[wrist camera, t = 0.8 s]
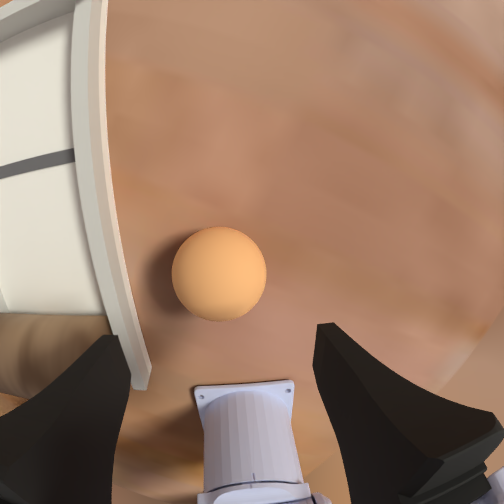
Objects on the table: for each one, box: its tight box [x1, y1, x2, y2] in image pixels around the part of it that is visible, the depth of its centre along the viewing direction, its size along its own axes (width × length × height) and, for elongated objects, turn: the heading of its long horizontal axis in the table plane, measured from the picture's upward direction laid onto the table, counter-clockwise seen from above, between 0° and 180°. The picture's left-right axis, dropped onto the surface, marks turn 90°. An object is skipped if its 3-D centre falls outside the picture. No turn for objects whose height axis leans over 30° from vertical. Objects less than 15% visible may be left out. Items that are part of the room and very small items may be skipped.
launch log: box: [0, 313, 113, 399], centre depth 16 cm, size 6×10×6 cm, turn 92°
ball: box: [172, 227, 266, 321], centre depth 16 cm, size 5×5×5 cm
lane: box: [0, 0, 152, 390], centre depth 14 cm, size 26×12×4 cm, turn 2°
